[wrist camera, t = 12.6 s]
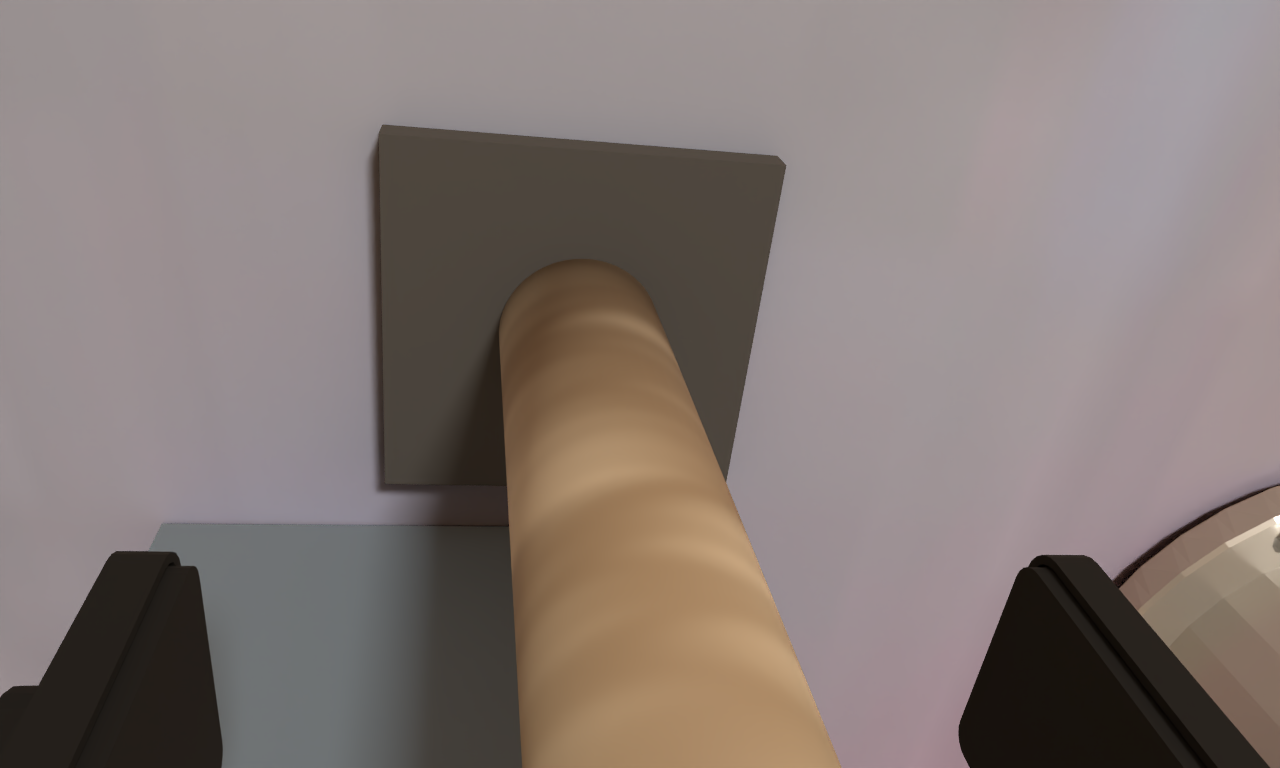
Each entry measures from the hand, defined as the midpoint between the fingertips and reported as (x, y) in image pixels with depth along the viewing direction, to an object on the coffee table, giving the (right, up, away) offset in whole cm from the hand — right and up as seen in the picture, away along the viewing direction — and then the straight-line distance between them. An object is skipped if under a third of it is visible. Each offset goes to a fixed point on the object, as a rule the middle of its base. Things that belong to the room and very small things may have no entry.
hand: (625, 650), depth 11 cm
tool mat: (-1, +4, +8) cm, 9 cm away
